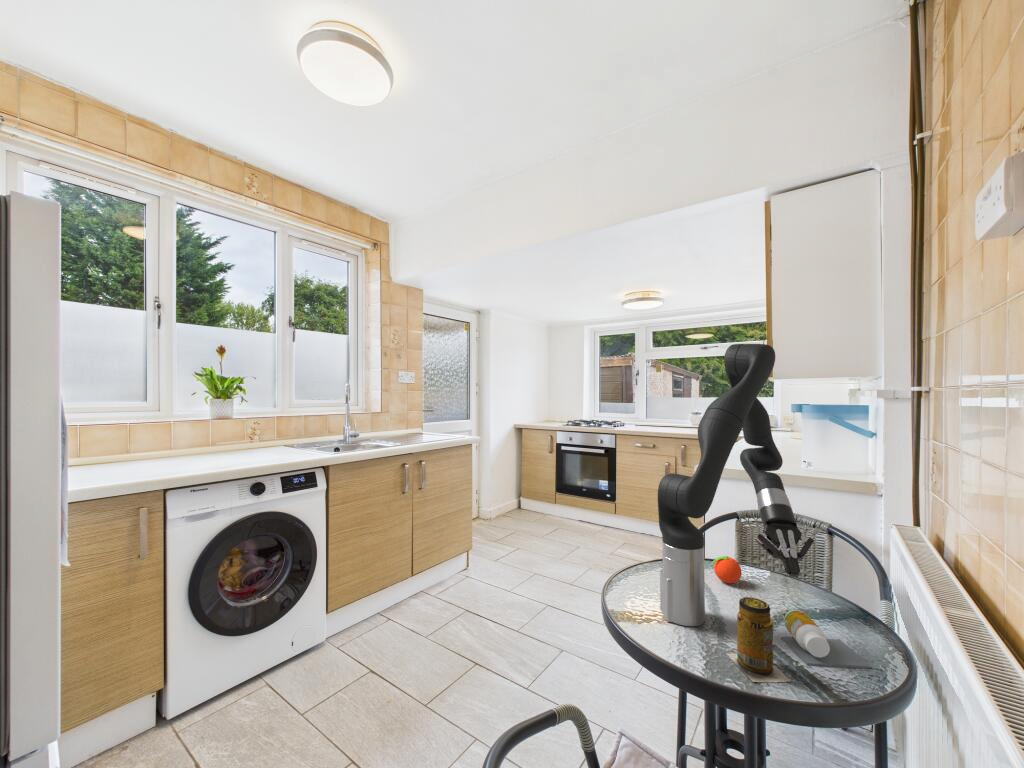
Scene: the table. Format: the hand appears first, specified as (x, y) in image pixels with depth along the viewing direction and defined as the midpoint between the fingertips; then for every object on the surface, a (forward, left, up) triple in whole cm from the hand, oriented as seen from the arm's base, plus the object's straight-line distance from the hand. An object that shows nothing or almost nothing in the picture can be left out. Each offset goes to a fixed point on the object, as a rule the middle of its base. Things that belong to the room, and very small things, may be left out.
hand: (794, 575), depth 99 cm
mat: (-2, -14, -10) cm, 17 cm away
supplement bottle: (-4, -8, -7) cm, 11 cm away
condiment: (-18, -20, -10) cm, 29 cm away
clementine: (-8, +18, -10) cm, 22 cm away
